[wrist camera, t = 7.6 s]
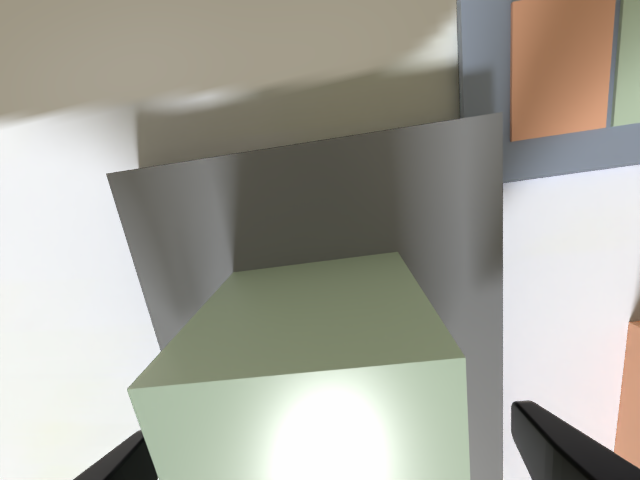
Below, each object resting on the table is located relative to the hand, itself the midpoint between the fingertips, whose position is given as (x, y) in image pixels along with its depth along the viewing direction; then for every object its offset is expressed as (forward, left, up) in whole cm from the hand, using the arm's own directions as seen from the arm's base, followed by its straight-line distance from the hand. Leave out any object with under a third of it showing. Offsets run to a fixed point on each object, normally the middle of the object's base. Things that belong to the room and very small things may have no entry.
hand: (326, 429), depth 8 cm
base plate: (0, 0, -4) cm, 4 cm away
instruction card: (+8, -9, -4) cm, 13 cm away
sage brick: (0, 0, -2) cm, 3 cm away
